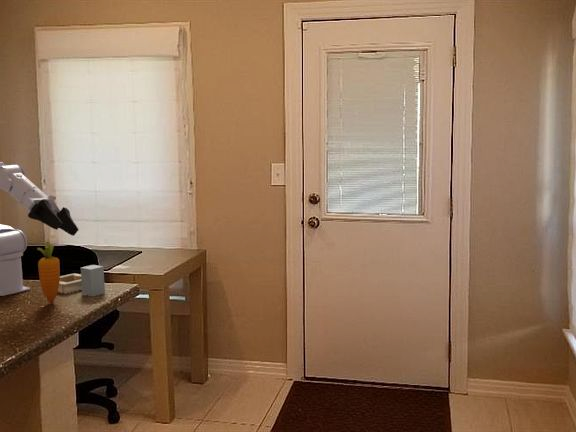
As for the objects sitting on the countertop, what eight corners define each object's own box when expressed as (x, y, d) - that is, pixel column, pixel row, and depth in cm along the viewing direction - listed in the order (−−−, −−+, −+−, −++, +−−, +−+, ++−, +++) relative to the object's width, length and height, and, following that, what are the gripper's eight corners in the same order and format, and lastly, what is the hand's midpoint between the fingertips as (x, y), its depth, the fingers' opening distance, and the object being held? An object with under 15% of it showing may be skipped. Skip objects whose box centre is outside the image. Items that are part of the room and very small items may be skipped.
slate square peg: (82, 294, 165) (80, 267, 164) (95, 291, 168) (93, 264, 167) (91, 296, 163) (90, 269, 162) (104, 293, 166) (103, 266, 165)
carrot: (55, 306, 154) (51, 244, 152) (36, 305, 155) (32, 244, 153) (66, 301, 159) (62, 241, 157) (47, 300, 160) (43, 240, 158)
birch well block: (45, 288, 171) (45, 279, 171) (75, 282, 178) (74, 273, 178) (65, 294, 165) (64, 284, 165) (95, 286, 172) (94, 277, 172)
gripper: (24, 176, 154) (61, 209, 150) (57, 191, 168) (92, 222, 164) (5, 200, 154) (42, 233, 150) (39, 213, 168) (74, 244, 164)
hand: (67, 229), depth 157 cm, fingers open, 7 cm apart
